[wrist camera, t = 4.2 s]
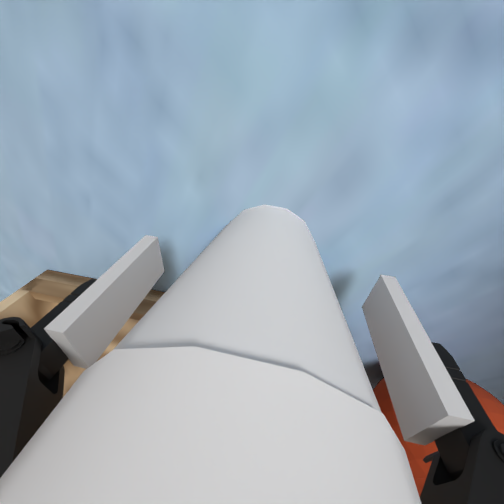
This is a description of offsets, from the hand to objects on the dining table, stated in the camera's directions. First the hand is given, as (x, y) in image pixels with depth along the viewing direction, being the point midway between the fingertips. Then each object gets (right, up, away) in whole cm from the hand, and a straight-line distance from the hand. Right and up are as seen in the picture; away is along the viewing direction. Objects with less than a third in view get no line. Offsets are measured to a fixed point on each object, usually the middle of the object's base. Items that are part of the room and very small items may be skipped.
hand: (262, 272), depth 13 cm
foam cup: (+1, +2, +2) cm, 3 cm away
